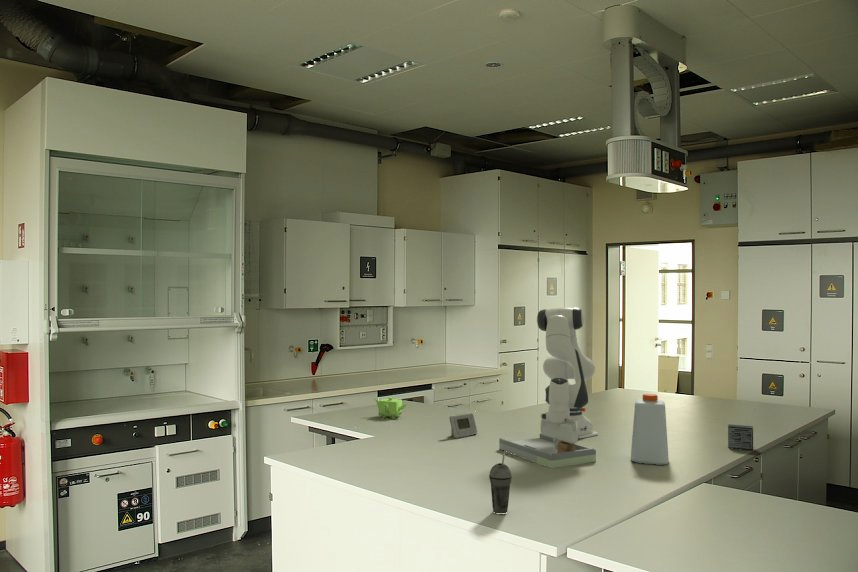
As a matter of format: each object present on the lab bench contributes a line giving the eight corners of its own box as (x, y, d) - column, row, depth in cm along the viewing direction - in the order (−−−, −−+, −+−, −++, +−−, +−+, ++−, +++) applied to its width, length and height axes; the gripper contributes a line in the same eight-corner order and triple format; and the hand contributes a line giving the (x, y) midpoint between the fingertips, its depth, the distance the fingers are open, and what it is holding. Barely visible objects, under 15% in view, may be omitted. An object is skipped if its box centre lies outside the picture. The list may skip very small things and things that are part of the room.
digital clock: (454, 439, 318) (454, 417, 318) (444, 435, 325) (444, 414, 326) (481, 435, 326) (481, 414, 326) (471, 432, 334) (471, 411, 334)
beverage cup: (486, 509, 215) (487, 447, 215) (509, 508, 215) (509, 447, 215) (490, 516, 207) (491, 452, 208) (513, 516, 208) (514, 452, 208)
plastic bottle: (668, 458, 286) (668, 393, 286) (668, 466, 271) (669, 398, 272) (631, 455, 290) (632, 391, 291) (630, 463, 276) (630, 396, 277)
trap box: (541, 444, 309) (541, 432, 309) (595, 461, 278) (595, 448, 278) (499, 449, 298) (499, 437, 298) (551, 468, 266) (551, 454, 266)
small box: (753, 448, 307) (753, 425, 307) (753, 451, 301) (753, 428, 301) (728, 445, 311) (728, 423, 311) (727, 448, 305) (728, 425, 305)
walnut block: (566, 452, 279) (567, 441, 279) (574, 455, 275) (575, 443, 275) (557, 454, 277) (557, 442, 277) (565, 457, 273) (565, 445, 273)
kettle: (372, 416, 375) (373, 396, 376) (395, 414, 382) (395, 394, 383) (384, 420, 362) (384, 399, 363) (407, 418, 369) (407, 398, 370)
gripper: (581, 420, 273) (581, 454, 273) (549, 412, 291) (549, 444, 291) (569, 421, 270) (569, 455, 270) (538, 413, 288) (537, 445, 287)
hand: (558, 449), depth 280 cm, fingers closed
